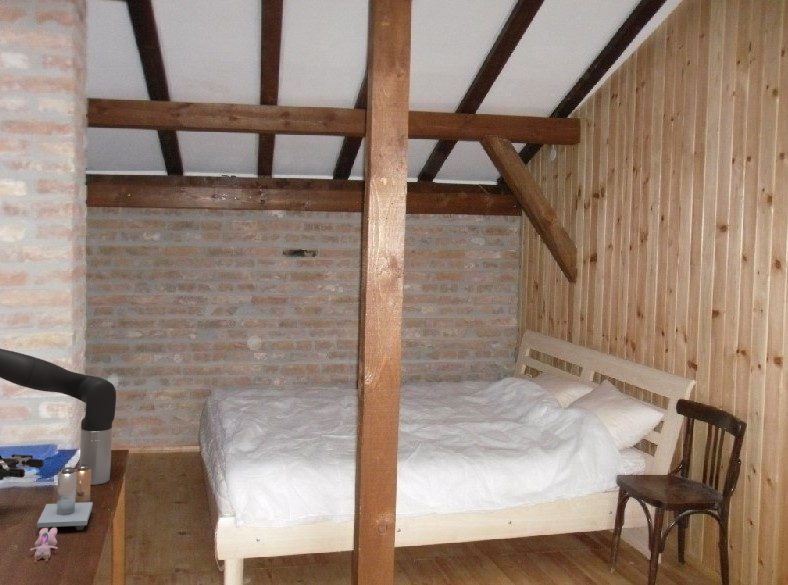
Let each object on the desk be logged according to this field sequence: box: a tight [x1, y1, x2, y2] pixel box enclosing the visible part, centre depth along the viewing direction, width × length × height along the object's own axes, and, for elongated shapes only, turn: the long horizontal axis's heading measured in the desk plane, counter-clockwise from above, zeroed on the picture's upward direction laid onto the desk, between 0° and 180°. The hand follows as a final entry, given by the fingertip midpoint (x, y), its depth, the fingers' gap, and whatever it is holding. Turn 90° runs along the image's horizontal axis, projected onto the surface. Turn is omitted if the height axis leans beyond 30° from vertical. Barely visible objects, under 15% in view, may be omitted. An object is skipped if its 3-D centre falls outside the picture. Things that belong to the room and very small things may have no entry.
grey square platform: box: [36, 501, 94, 532], centre depth 197 cm, size 14×12×3 cm
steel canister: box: [56, 466, 77, 515], centre depth 196 cm, size 5×5×12 cm
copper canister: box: [74, 464, 92, 503], centre depth 209 cm, size 5×5×12 cm
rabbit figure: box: [29, 527, 59, 564], centre depth 179 cm, size 6×6×15 cm
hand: (33, 468), depth 198 cm, fingers open, 8 cm apart
